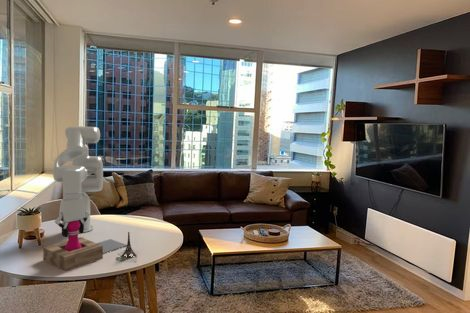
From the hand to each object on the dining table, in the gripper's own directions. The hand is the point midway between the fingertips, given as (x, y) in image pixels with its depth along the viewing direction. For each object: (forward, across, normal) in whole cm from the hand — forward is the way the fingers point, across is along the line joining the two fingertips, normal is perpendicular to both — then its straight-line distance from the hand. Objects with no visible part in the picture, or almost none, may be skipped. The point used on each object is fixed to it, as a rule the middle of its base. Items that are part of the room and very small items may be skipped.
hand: (73, 234), depth 159 cm
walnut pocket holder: (+12, 0, 0) cm, 12 cm away
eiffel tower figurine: (+13, -18, +16) cm, 27 cm away
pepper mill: (+12, 0, 0) cm, 12 cm away
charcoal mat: (+12, -19, -2) cm, 22 cm away
